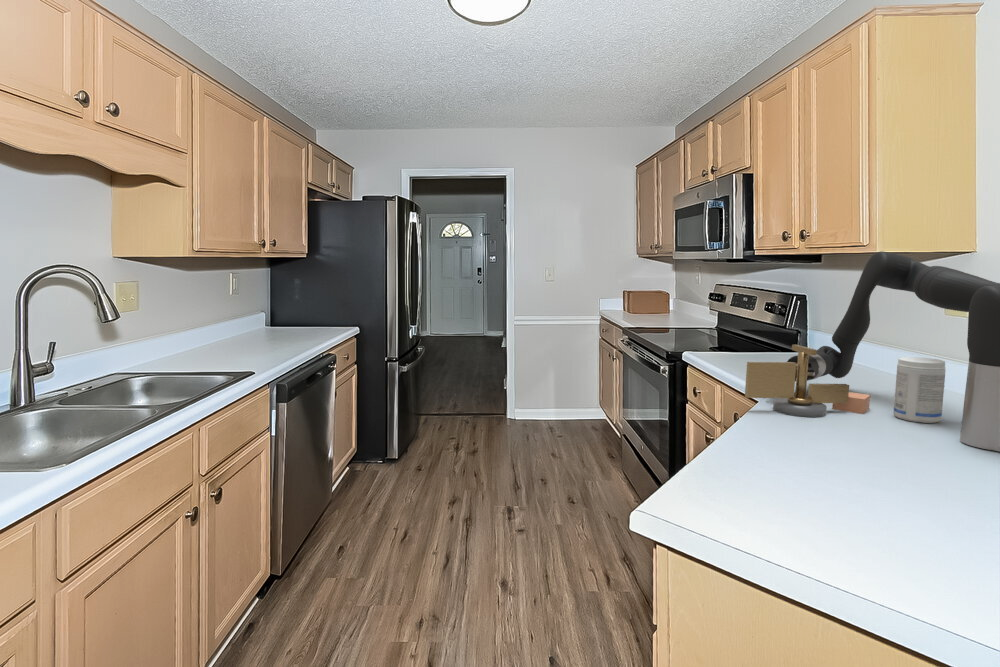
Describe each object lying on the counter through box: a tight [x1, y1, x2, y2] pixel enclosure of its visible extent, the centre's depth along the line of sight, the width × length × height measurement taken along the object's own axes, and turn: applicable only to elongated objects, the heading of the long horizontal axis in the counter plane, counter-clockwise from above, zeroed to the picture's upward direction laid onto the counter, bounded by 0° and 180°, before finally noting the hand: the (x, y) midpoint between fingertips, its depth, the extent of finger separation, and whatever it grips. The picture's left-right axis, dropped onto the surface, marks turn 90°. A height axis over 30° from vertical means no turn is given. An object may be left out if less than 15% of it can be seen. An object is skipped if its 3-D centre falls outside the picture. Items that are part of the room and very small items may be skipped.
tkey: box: [744, 344, 850, 405], centre depth 146 cm, size 26×9×14 cm, turn 92°
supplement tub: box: [893, 356, 946, 424], centre depth 141 cm, size 10×10×15 cm
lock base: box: [772, 398, 827, 418], centre depth 147 cm, size 12×12×2 cm
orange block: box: [831, 391, 871, 415], centre depth 150 cm, size 7×7×4 cm
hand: (775, 373), depth 154 cm, fingers closed
